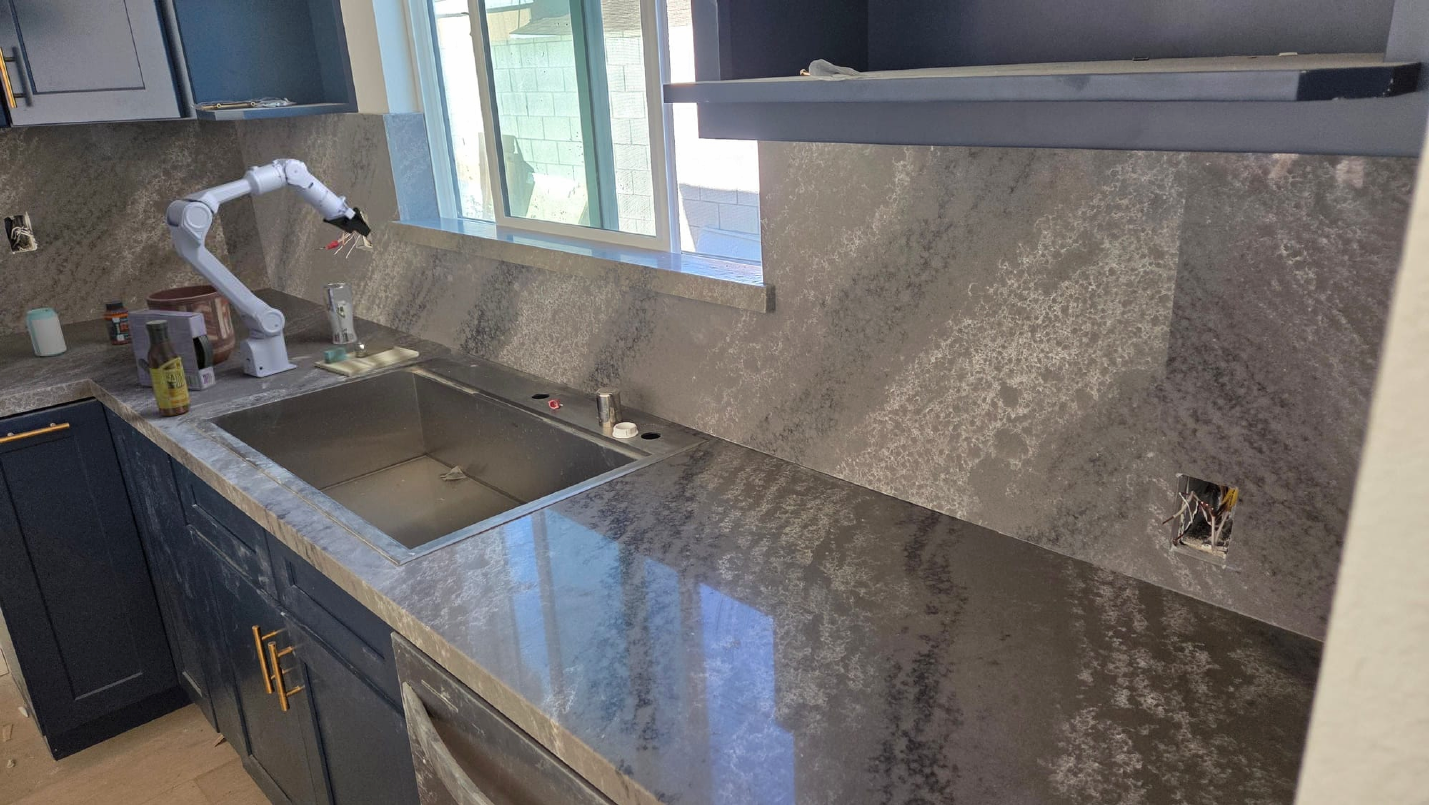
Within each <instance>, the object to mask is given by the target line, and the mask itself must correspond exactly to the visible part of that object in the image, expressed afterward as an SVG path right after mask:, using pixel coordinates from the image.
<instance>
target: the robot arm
mask: <svg viewBox="0 0 1429 805" xmlns="http://www.w3.org/2000/svg"><path fill="white" fill-rule="evenodd" d="M249 169H250V170H247V171H245V173H244V175H243V178H242V179H238V180H234V181H231V182H228V183H225V184H220V185H217V186H213V187H210V188H207V189H203V190H200V191H197V192H195V193H190V194H188V195H186V196H183V199H177V200H174V201H172V202H171V203H170V204H169V205H168V207H167V208H166V215H165V225H166V226H167V227H168V230H169V231H170V232H169V233H170V236H171V239H172V243H173V244H174V245H173V246H174V249H175V251H176V254H177V255H178V256H180V257H181V258H182V259H183V260H184V261H185V262H186V263H187V264H188V265H189V266H190V267H191V268H192V269H193V270H195V272H196V273H198V275H199V276H201V277H202V278H203V279H204V280H205V281H206V282H207V283H209V285H210V284H211V285H212V286H213V287H214V288H215V289H216V290H217V291H218V292H219V293H220V294H221V295H222V296H224V297H225V298H226V299H227V300H228V301H229V304H231V306H233V307H234V308H235V312H236V313H237V314H238V315H239V316H240V318H241V320H242V323H243V325H244V326H245V327H246V329H249V331H248V332H249V337H247V338H245V339H242V340H241V341H240V344H239V345H240V346H239V348H240V354H241V358H242V363H243V367H244V370H243V373H245V374H248V375H250V376H253V377H257V378H264V377H266V376H271V375H274V374H278V373H281V372H284V371H289V370H293V369H296V368H297V364H292V363H289V357H288V353H287V348H286V347H287V346H286V343H285V342H286V341H285V338H284V332H283V329H284V327H285V323H286V320H285V316H284V314H283V312H282V311H280V310H279V309H276V308H273V307H271V306H269V305H268V304H267V303H266V302H264V301H263V300H262V299H260V298H258V297H257V296H256V295H254V293H252V292H251V291H250V290H249V288H247V286H245V284H243V282H241V281H240V280H239V279H238V278H237V277H236V276H235V275H234V274H233V273H231V272H230V271H229V269H227V267H226V266H225V265H223V264H222V263H221V261H219V260H218V259H217V258H216V257H215V256H214V255H213V254H212V253H211V252H210V251H209V250H208V249H207V248H206V247H205V241H206V236H207V233H208V232H209V229H210V227H211V224H212V221H213V215H214V214H215V215H216V214H217V212H218V210H219V207H220V205H221V204H223V203H226V202H229V201H231V200H234V199H236V198H239V197H241V196H244V195H247V194H253V195H254V196H257V197H258V196H261V195H263V194H266V193H270V192H272V191H276V190H279V189H280V188H283V187H285V186H286V185H287V186H288V187H289V188H291V190H293V191H294V192H295V193H296V194H297V195H298V196H299V197H300V198H301V199H303V201H305V202H306V203H308V204H309V205H310V206H311V207H312V208H313V209H315V210H316V211H317V212H318V213H319V214H321V215H322V216H323V219H322V222H323V223H326V224H329V225H332V226H335V227H336V228H338V229H340V230H342V231H343V232H346V233H348V234H350V235H352V234H353V232H356V233H357V234H359V235H361V236H363V237H365V238H368V236H369V234H371V232H372V230H371V228H370V227H369V225H368V224H367V222H366V221H365V219H364V218H363V216H362V213H361V210H360V208H358V207H357V206H354V207H353V208H351V207H349V206H348V205H347V204H346V203H345V201H346V197H345V196H344V195H340V196H337V195H336V194H335V193H333V192H332V191H331V190H330V189H329V188H328V187H327V186H326V185H324V184H323V183H322V182H321V181H320V180H319V179H318V178H316V176H314V175H312V174H311V173H310V172H309V171H308V167H307V166H306V163H304V162H303V161H301V160H298V159H296V158H295V159H294V158H276V159H275V160H272V161H270V163H268V164H265V165H263V166H257V165H253V166H249Z"/></svg>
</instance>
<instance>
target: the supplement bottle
mask: <svg viewBox="0 0 1429 805" xmlns="http://www.w3.org/2000/svg"><path fill="white" fill-rule="evenodd" d="M104 306H105V308H106V309H105V311H104V312H103V316H104V317H103V318H104V322H105V325H106V330H107V333H108V334H107V335H108V337H109V341H110V344H112V345H124V344H125V345H126V344H129V343H133V342H132V337H131V332H130V327H129V322H128V317H127V313H128V312H129V309H128V308H126V307H124V304H123V301H122V300H110V301H107V302H105V303H104Z"/></svg>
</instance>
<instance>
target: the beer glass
mask: <svg viewBox="0 0 1429 805" xmlns="http://www.w3.org/2000/svg"><path fill="white" fill-rule="evenodd" d="M321 291H322V300H323V305H324V306H323V307H324V310H325V313H326V315H327V318H328V321H329V324H330V326H331V330H332V331H331V332H332V343H333V345H348V344H352V343H355V342H357V341H358V337H357V335H356V332H355V328H354V320H353V319H354V305H353V304H354V303H353V297H352V293H351V289H350V286H349V283H348V282H335V283H334V282H333V283H328V284H325V285H322V286H321Z"/></svg>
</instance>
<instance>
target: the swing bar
mask: <svg viewBox="0 0 1429 805" xmlns="http://www.w3.org/2000/svg"><path fill="white" fill-rule="evenodd" d="M353 346H354V347H353V348H354V352H355V353H356V357H357V358H362V357H366V356H368V355H372V354H375V353H379V352H382V351H386V350H389V349H393V348H394V346H395V344H394V338H393V336H383V337H380V338H377V339H373V340H369V341H366V342H361V341H360V342H359V341H358V342H357V343H354V344H353Z"/></svg>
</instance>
